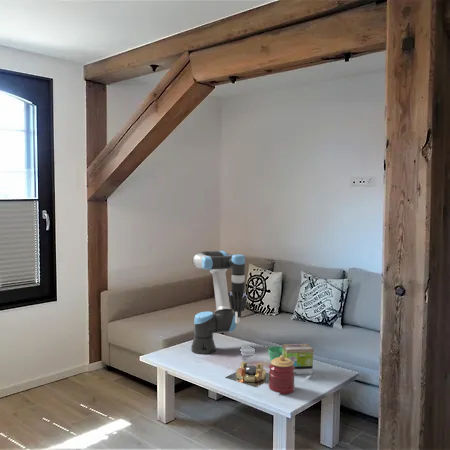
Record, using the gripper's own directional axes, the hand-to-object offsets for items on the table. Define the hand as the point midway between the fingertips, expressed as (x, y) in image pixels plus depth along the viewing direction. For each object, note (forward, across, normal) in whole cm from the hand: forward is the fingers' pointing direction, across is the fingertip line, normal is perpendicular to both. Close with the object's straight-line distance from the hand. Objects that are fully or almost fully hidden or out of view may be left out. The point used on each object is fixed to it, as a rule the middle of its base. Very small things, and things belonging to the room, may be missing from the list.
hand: (237, 322), depth 278 cm
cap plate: (+24, -18, +12) cm, 33 cm away
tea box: (+25, -33, -11) cm, 43 cm away
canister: (+25, -38, +14) cm, 47 cm away
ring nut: (+23, -18, +12) cm, 32 cm away
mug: (+25, -20, -14) cm, 35 cm away
